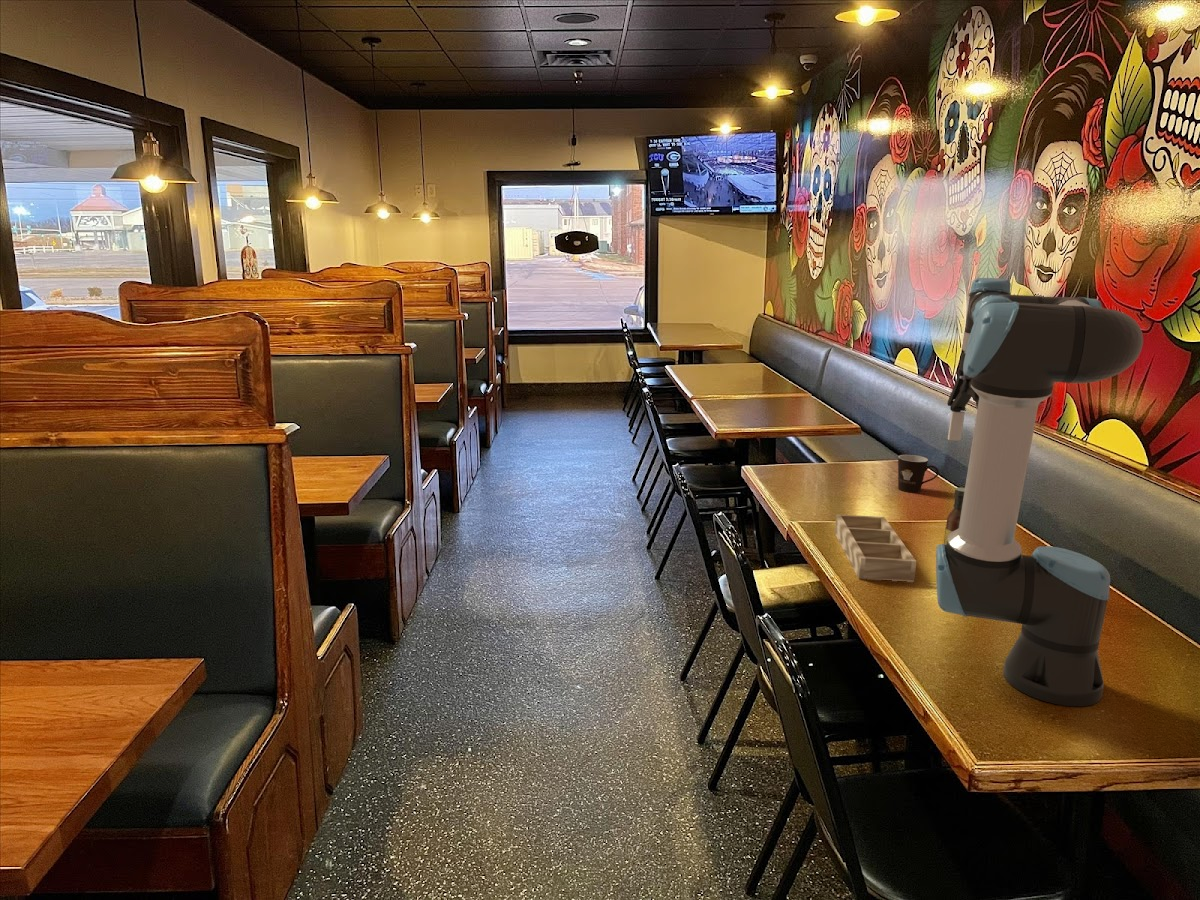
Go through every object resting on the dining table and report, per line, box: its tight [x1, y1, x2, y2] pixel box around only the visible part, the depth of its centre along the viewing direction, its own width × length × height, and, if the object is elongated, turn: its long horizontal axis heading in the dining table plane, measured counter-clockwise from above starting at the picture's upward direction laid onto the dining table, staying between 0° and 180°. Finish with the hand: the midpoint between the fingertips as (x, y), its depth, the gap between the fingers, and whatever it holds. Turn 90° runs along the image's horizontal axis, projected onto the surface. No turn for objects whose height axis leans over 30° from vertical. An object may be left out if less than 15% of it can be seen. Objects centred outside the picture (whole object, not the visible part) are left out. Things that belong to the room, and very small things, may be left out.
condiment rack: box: [834, 514, 917, 583], centre depth 201 cm, size 31×12×5 cm, turn 175°
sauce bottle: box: [943, 487, 965, 545], centre depth 190 cm, size 6×6×20 cm
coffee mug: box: [897, 454, 940, 494], centre depth 256 cm, size 12×9×10 cm
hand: (966, 449), depth 183 cm, fingers open, 13 cm apart
